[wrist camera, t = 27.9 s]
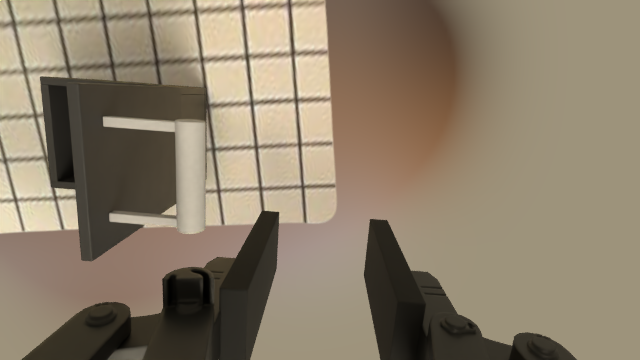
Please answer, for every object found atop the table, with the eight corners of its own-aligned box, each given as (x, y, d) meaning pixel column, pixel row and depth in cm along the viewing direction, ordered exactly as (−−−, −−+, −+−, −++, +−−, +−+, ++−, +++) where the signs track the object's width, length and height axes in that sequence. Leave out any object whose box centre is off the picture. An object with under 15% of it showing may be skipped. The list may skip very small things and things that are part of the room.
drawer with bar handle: (80, 260, 25) (192, 270, 25) (65, 82, 23) (190, 91, 22) (175, 198, 40) (245, 204, 40) (173, 86, 38) (248, 92, 37)
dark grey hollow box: (98, 171, 50) (50, 187, 41) (92, 79, 47) (39, 76, 38) (206, 179, 49) (181, 197, 41) (206, 87, 47) (179, 86, 38)
